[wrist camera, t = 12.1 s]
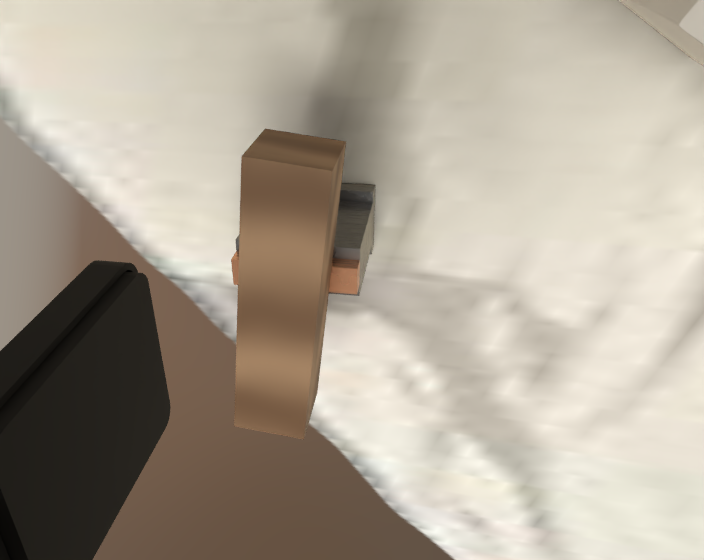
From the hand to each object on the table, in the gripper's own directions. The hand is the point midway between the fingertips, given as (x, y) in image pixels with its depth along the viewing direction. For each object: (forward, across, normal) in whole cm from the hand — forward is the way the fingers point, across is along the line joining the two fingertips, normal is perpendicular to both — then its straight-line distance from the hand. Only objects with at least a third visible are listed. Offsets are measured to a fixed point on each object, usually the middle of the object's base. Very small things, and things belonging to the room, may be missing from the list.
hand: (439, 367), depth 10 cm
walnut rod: (+22, +8, +11) cm, 26 cm away
